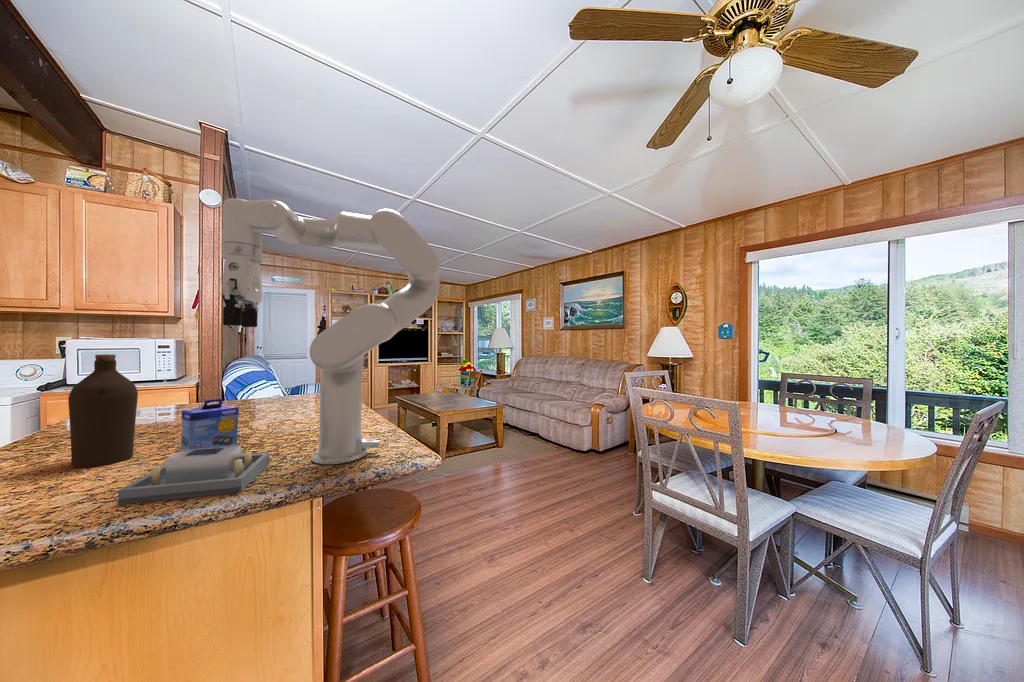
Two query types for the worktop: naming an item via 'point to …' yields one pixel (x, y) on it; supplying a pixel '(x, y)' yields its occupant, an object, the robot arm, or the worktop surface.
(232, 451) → the grey rectangular block
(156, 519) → the worktop surface
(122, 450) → the olive oil
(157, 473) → the pin tray
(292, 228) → the robot arm
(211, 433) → the ink cartridge box
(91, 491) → the worktop surface
